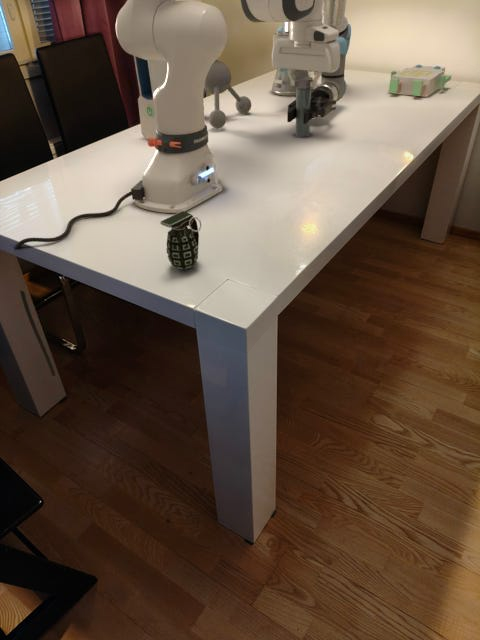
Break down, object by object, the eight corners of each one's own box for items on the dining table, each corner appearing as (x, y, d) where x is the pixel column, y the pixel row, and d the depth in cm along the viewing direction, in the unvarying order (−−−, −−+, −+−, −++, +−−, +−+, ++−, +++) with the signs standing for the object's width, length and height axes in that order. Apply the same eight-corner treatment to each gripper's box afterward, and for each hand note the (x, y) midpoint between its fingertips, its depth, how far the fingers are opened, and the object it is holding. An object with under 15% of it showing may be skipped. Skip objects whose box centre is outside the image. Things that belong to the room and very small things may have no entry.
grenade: (182, 278, 88) (175, 228, 82) (162, 268, 91) (153, 219, 85) (208, 263, 92) (203, 214, 85) (187, 253, 95) (181, 205, 89)
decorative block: (405, 62, 193) (457, 66, 183) (403, 80, 197) (453, 84, 187) (379, 75, 177) (434, 80, 167) (377, 94, 181) (431, 100, 171)
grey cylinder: (312, 134, 149) (314, 79, 139) (303, 138, 147) (304, 82, 137) (301, 131, 151) (303, 77, 142) (292, 135, 149) (293, 80, 140)
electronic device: (141, 137, 154) (123, 28, 136) (159, 131, 158) (144, 24, 140) (166, 145, 147) (151, 30, 129) (185, 138, 151) (172, 26, 133)
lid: (316, 86, 140) (316, 77, 139) (304, 89, 138) (305, 81, 136) (302, 83, 144) (303, 75, 142) (291, 87, 141) (291, 79, 139)
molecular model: (271, 118, 163) (270, 14, 145) (215, 133, 154) (207, 23, 136) (232, 105, 179) (227, 9, 161) (180, 117, 170) (168, 17, 151)
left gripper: (267, 32, 135) (267, 85, 144) (333, 35, 125) (330, 92, 134) (279, 28, 139) (279, 81, 148) (344, 31, 129) (340, 87, 138)
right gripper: (347, 112, 157) (324, 134, 140) (297, 108, 163) (269, 128, 147) (349, 87, 152) (326, 106, 136) (297, 84, 159) (269, 102, 142)
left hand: (303, 86), depth 141 cm, fingers closed on lid, 5 cm apart
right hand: (296, 118), depth 141 cm, fingers closed on grey cylinder, 4 cm apart
